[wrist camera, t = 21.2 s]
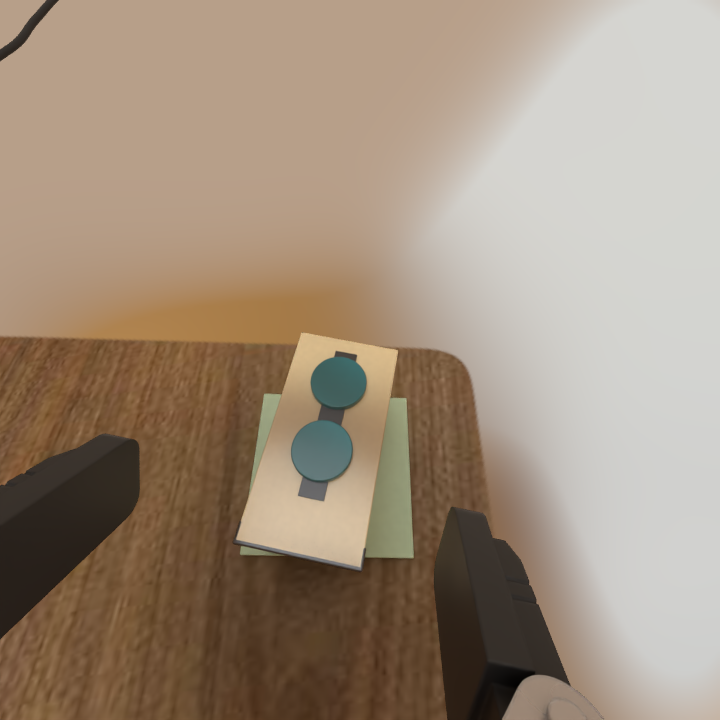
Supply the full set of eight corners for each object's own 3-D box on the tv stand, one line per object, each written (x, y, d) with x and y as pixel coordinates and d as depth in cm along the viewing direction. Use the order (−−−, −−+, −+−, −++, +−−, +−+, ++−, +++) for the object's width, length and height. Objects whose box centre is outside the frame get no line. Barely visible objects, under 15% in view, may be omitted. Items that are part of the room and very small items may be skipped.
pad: (265, 397, 24) (264, 393, 23) (405, 401, 24) (406, 397, 24) (242, 555, 20) (239, 554, 19) (412, 558, 20) (414, 558, 19)
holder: (311, 391, 24) (299, 326, 17) (384, 406, 23) (400, 345, 17) (267, 549, 19) (228, 543, 13) (356, 569, 19) (362, 573, 13)
